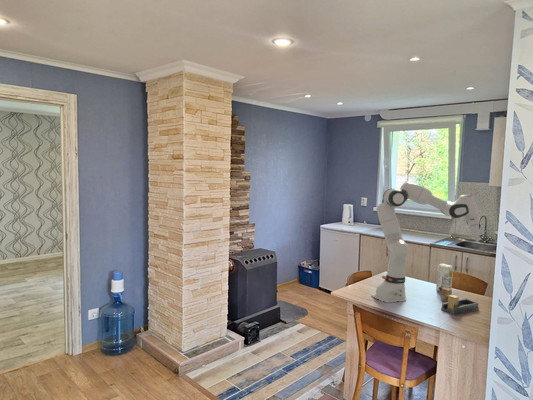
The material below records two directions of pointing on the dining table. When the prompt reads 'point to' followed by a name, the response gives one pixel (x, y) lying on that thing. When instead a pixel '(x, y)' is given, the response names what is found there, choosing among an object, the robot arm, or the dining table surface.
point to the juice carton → (444, 277)
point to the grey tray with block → (459, 305)
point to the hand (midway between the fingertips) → (476, 239)
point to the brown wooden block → (445, 294)
